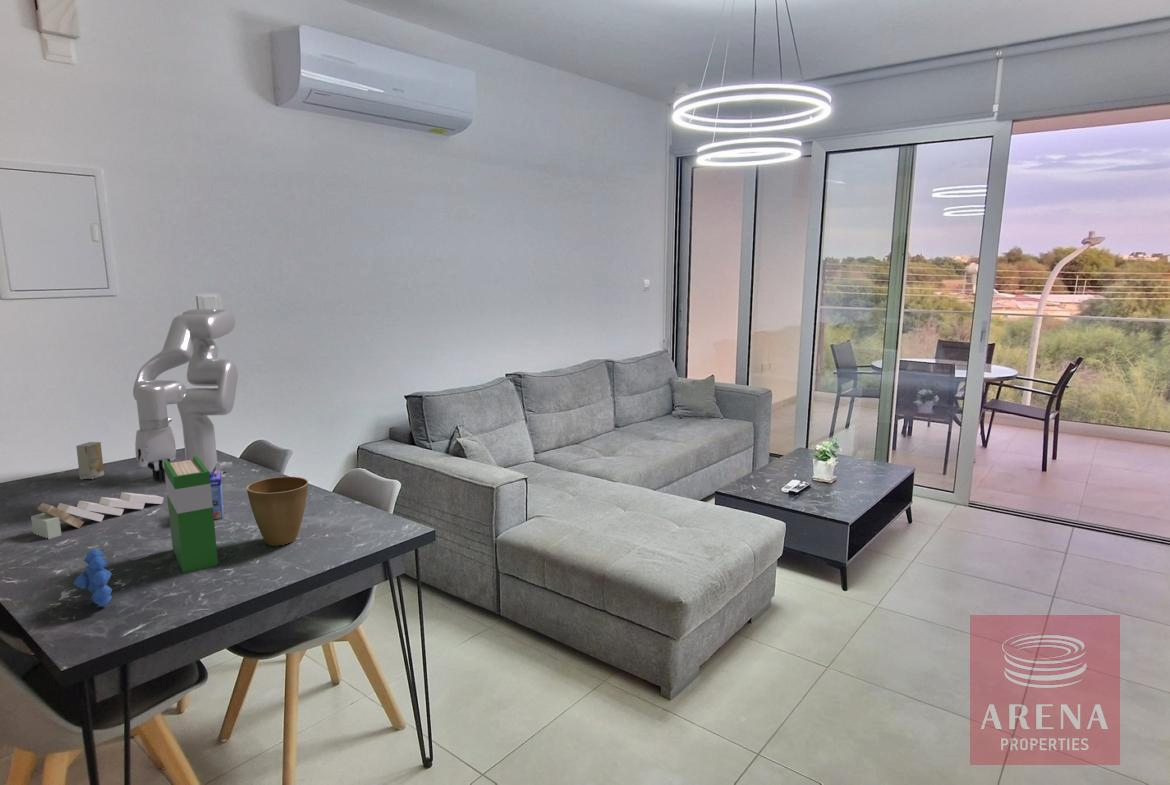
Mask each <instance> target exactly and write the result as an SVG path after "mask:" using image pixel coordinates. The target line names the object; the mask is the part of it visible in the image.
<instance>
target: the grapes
mask: <svg viewBox="0 0 1170 785" xmlns="http://www.w3.org/2000/svg"><path fill="white" fill-rule="evenodd" d="M104 556H105V553H104V552H102V551H101V550H100V549H98V548H91V549H90V550H89V551H88V553H87V554H86V556H85V558H84V559H83V562H85V563H86V564H87V566H86V567H85V569H84V572H85V573H79V575H78V576H77V577H76V578H75V579H74V581H73V585H75V587H77V588H79V589H83V590H84V589H87V590H88V591H89V592H90V593H92V595H91V597H90V599H91V600H93V601H92V602H93V603H94V604H95V605H97V606H99V607H107V605H108V604H109V603H110V601H111V599H112V598H113V595H111V594H112V591H113V590H114V589H112V588H111V587H110V586H109V585H108V583H109V581H110V578H111V577H112V575H113V573H112V572H110V570H107V569H106V568H105V567H106V565H107V563H108V560H107V559H105V558H104Z"/></svg>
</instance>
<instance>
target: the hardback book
mask: <svg viewBox="0 0 1170 785" xmlns="http://www.w3.org/2000/svg"><path fill="white" fill-rule="evenodd" d="M164 470H165V488H166V495H167V496H166V497H167V506H168V515H169V525H170V527H169V528H170V533H171V534H170V535H171V543H172V545H171V546H172V551H173V553H174V556H175V555H176V556H175V558H176V560H177V562H178V564H179V566H180V568H181V571H182V573H183V574H186V573H185V572H187V573H191V572H194V570H195V571H200V570H204V569H207V568H212V566H213V567H216V566H219V560H218V549H217V537H216V528H215V527H216V526H215V519H214V515H213V504H212V493H211V482H210V472H209V470H208V469H207V468H206V467H205V465H204V464H203V463H202V462H201V461H200V459H199V458H198V457H197V456H194V457H193V460H187V461H186V460H181V461H174V462H169V461H168V460H165V461H164ZM203 568H204V569H203ZM199 569H200V570H199Z"/></svg>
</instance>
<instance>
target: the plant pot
mask: <svg viewBox="0 0 1170 785" xmlns="http://www.w3.org/2000/svg"><path fill="white" fill-rule="evenodd" d="M308 489H309V480H308V479H307V478H303V477H298V476H279V477H278V476H277V477H269V478H266V479H260V480H257V481H254V482H252V483H250V484H248V485H247V486H246V492H247V497H248V501H249V504H250V508H251V512H252V514H253V517H254V520H255V523H256V525H257V528H258V530H259V532H260V534H261V536H262V538H263V540H264V542H265V544H266V545H267V544H268V545H267V546H270V545H271V547H280V546H279V545H282V546H286V545H285V544H287V545H289V544H288V543H290V544H292V543H294V542H295V541H296V540H297V537H298V534H299V532H300V529H301V526H302V522H303V517H304V514H305V508H306V505H307V504H306V503H307V497H308ZM293 541H294V542H293ZM291 542H292V543H291Z"/></svg>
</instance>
